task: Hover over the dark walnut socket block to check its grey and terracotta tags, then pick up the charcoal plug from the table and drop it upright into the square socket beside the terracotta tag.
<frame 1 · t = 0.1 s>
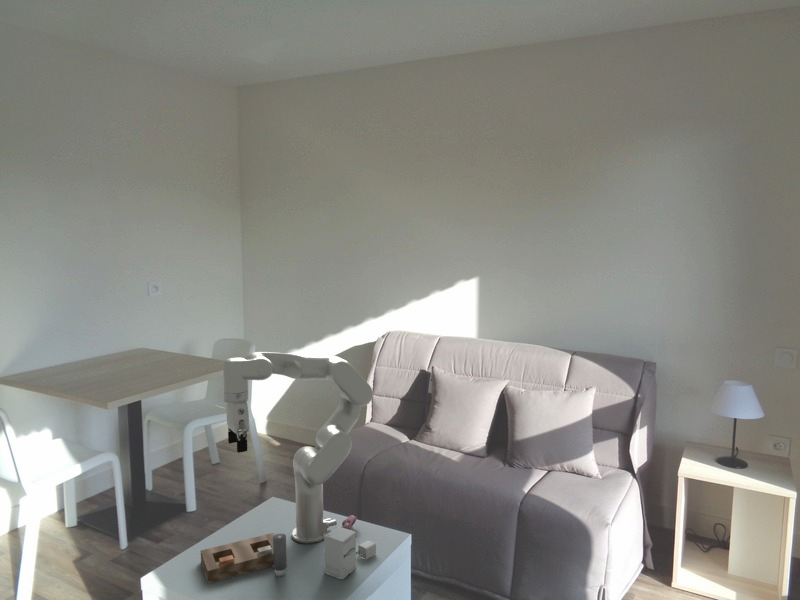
hand: (237, 447, 191), 36 cm above the table, tool pointing down, fingers open, 9 cm apart
socket block: (243, 562, 189), on the table
charcoal plug: (280, 573, 183), on the table
usb wall charger: (364, 557, 192), on the table
supplement box: (340, 572, 184), on the table
video game controller: (346, 533, 207), on the table
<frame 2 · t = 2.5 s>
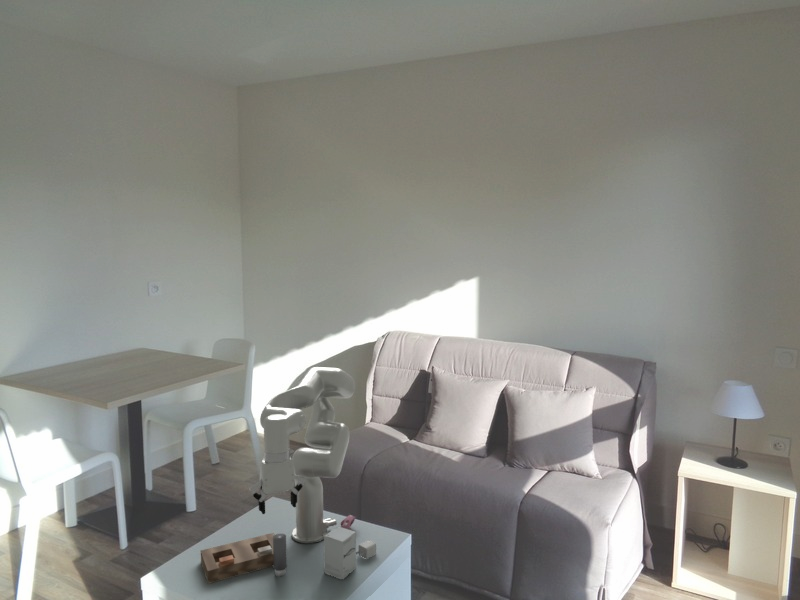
hand: (278, 508, 180), 21 cm above the table, tool pointing down, fingers open, 9 cm apart
nothing on the table moved.
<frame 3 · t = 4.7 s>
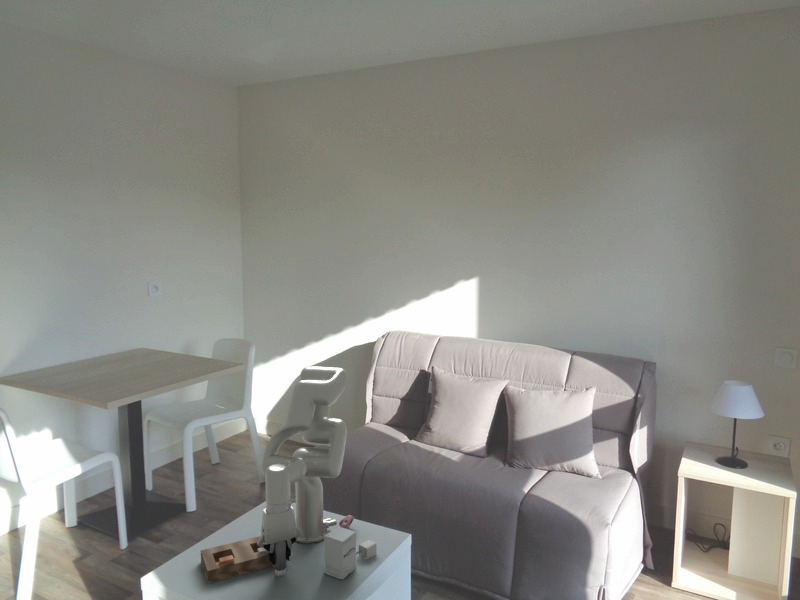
hand: (280, 560, 182), 4 cm above the table, tool pointing down, fingers closed on charcoal plug, 4 cm apart
charcoal plug: (280, 573, 183), on the table, touching gripper
everything else where it was.
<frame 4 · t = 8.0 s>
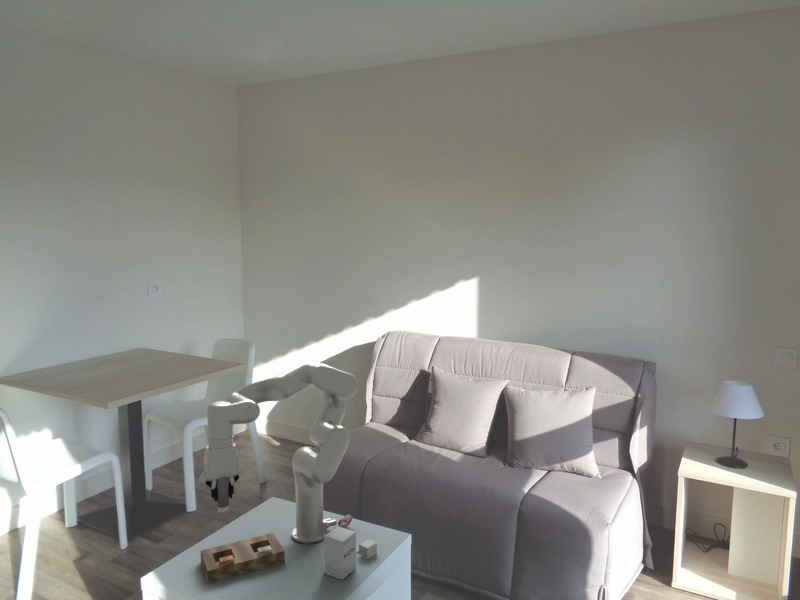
hand: (222, 497, 183), 23 cm above the table, tool pointing down, fingers closed on charcoal plug, 4 cm apart
charcoal plug: (223, 510, 183), point 19 cm above the table, touching gripper
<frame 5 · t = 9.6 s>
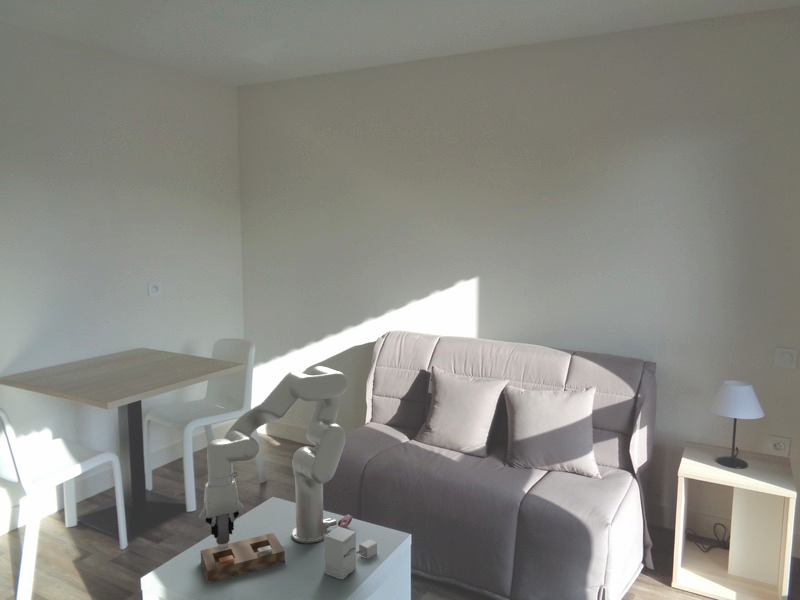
hand: (222, 533, 185), 11 cm above the table, tool pointing down, fingers closed on charcoal plug, 4 cm apart
charcoal plug: (223, 546, 185), point 7 cm above the table, touching gripper
when the fingers open (6 cm above the table, at t = 11.2 s): charcoal plug drops 1 cm, resting in socket block.
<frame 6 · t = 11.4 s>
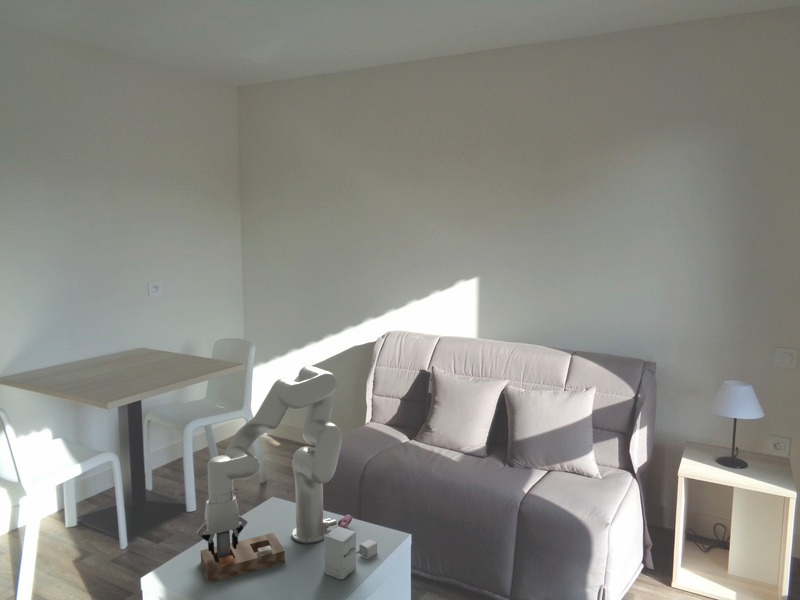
hand: (223, 549, 185), 6 cm above the table, tool pointing down, fingers open, 6 cm apart
charcoal plug: (224, 567, 186), resting in socket block
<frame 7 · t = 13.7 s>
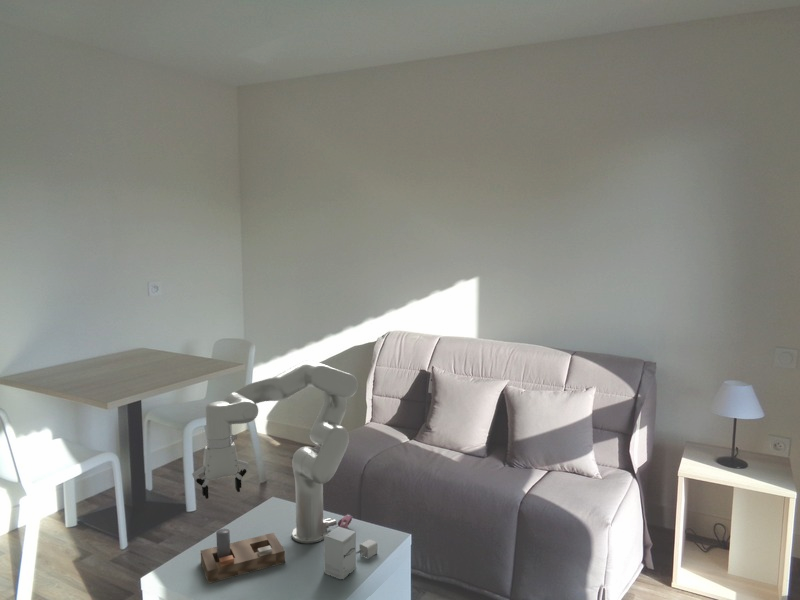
hand: (222, 493, 184), 24 cm above the table, tool pointing down, fingers open, 9 cm apart
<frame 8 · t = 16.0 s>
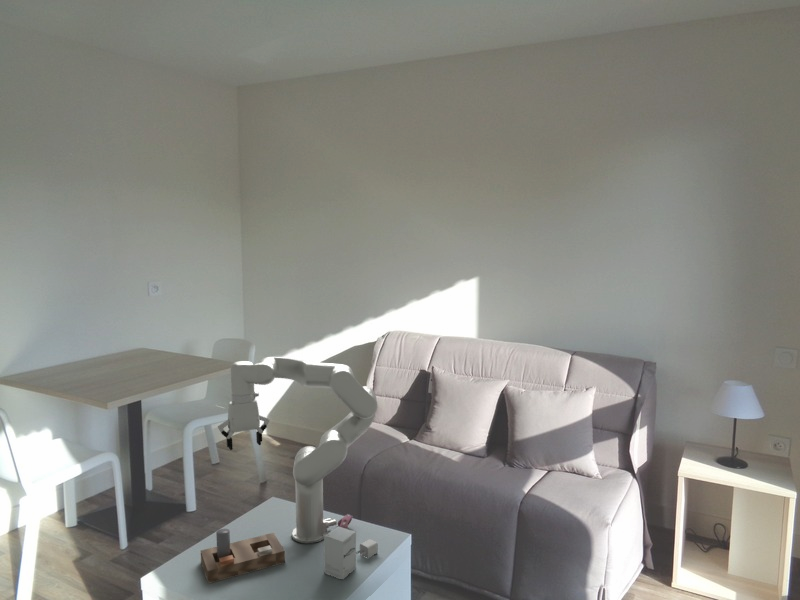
hand: (244, 446, 200), 33 cm above the table, tool pointing down, fingers open, 9 cm apart
at the end: charcoal plug 0.1 cm from the target spot on the socket block, point 0.0 cm above the socket block's base; charcoal plug tilted 0°; the gripper is holding nothing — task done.
